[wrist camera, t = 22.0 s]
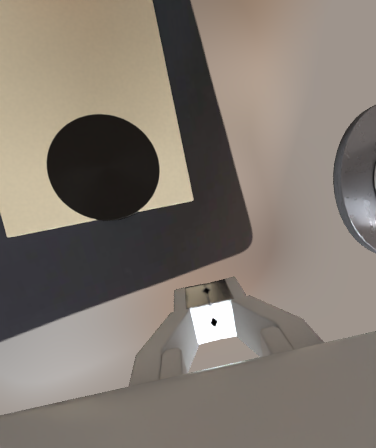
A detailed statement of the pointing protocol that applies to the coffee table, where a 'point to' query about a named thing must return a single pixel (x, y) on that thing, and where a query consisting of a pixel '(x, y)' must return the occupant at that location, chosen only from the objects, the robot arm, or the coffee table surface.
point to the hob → (79, 98)
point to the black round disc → (103, 167)
